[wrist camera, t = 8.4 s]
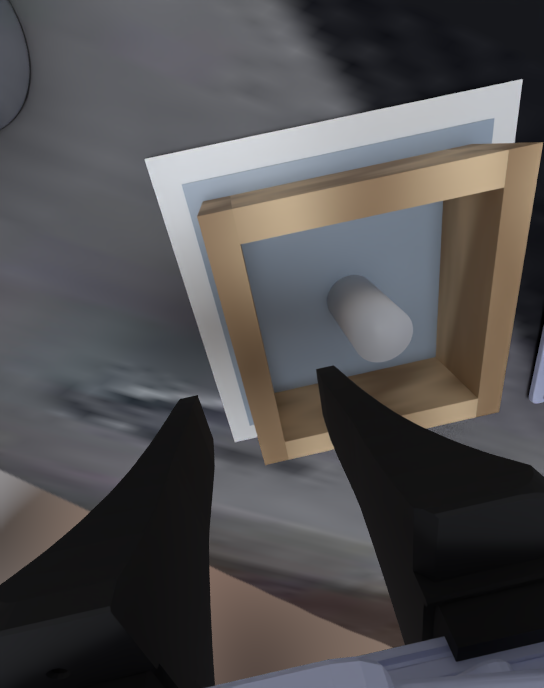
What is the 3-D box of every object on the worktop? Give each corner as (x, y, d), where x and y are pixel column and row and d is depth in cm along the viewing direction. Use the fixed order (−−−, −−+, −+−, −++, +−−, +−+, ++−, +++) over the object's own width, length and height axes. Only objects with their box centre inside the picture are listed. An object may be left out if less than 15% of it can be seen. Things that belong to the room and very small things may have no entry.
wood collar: (471, 144, 16) (543, 142, 12) (454, 369, 22) (498, 411, 18) (202, 201, 16) (196, 216, 12) (258, 413, 21) (265, 464, 18)
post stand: (506, 83, 16) (629, 54, 11) (473, 377, 24) (537, 435, 19) (148, 158, 16) (115, 162, 11) (234, 431, 23) (237, 504, 19)
